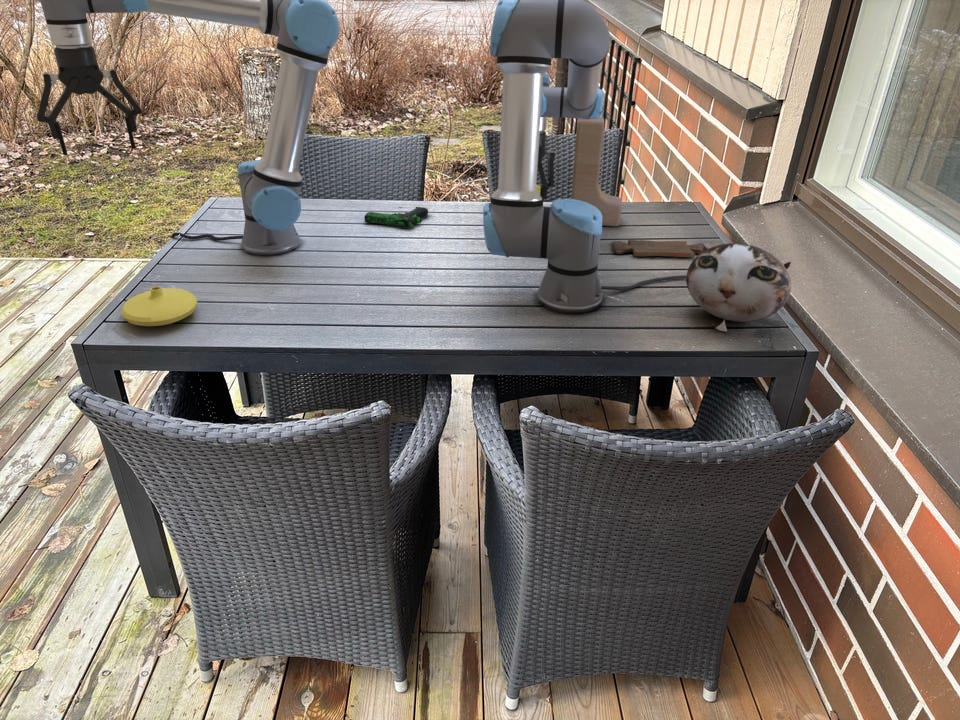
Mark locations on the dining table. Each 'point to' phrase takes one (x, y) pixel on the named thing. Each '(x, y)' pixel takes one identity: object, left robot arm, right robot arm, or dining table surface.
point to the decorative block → (592, 171)
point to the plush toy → (738, 282)
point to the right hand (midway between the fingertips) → (528, 209)
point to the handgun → (398, 218)
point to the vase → (159, 306)
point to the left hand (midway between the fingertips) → (100, 150)
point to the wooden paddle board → (657, 248)
